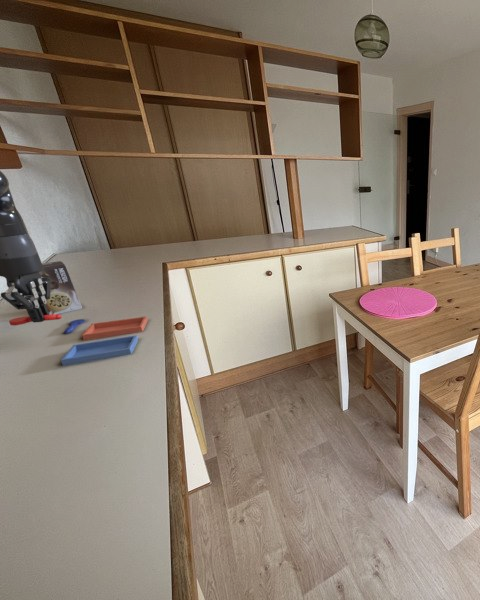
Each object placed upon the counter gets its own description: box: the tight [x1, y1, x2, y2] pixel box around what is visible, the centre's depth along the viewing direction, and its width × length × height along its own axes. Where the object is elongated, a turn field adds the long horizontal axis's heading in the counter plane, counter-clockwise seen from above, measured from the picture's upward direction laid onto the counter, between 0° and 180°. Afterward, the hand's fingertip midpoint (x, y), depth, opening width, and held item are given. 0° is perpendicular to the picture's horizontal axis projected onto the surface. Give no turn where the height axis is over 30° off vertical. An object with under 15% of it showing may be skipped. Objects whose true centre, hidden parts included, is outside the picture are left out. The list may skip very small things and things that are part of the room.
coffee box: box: [39, 260, 83, 315], centre depth 102 cm, size 9×6×16 cm
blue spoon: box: [63, 318, 86, 335], centre depth 94 cm, size 10×3×1 cm, turn 28°
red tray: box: [81, 316, 149, 341], centre depth 93 cm, size 13×8×2 cm, turn 118°
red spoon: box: [8, 313, 62, 326], centre depth 80 cm, size 10×3×1 cm, turn 110°
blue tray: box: [60, 334, 139, 367], centre depth 82 cm, size 13×8×2 cm, turn 118°
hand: (41, 319), depth 80 cm, fingers closed on red spoon, 1 cm apart
